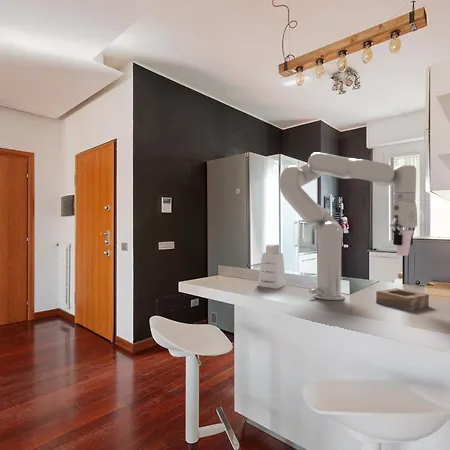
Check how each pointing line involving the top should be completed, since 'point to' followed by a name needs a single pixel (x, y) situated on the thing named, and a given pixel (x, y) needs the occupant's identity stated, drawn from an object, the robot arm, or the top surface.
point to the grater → (272, 268)
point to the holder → (402, 299)
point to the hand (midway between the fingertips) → (403, 244)
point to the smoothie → (404, 243)
